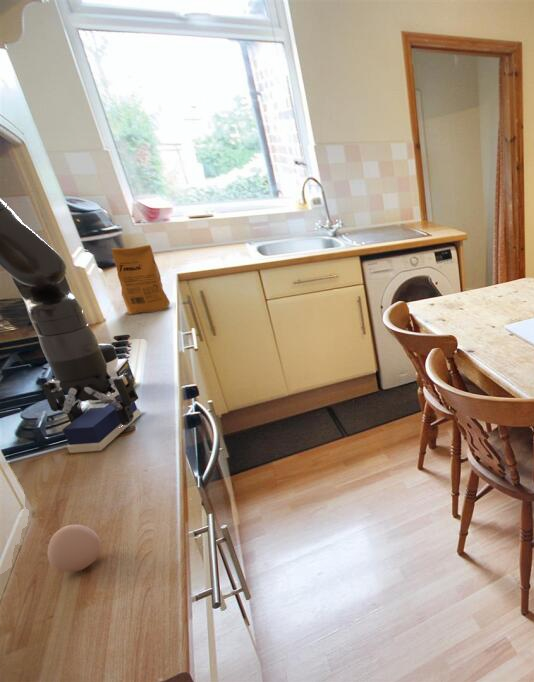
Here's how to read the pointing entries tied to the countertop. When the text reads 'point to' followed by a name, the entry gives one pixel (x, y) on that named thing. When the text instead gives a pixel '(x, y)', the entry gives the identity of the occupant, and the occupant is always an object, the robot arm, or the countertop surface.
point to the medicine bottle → (114, 365)
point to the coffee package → (140, 279)
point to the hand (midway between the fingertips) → (104, 424)
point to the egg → (73, 548)
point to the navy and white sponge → (95, 428)
